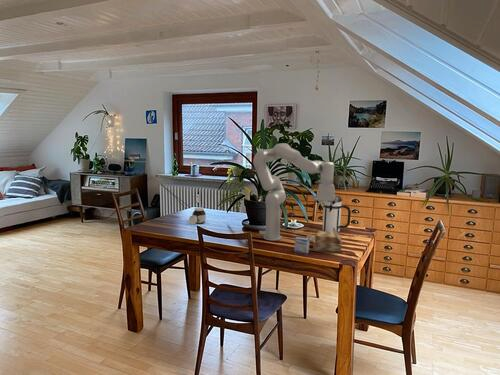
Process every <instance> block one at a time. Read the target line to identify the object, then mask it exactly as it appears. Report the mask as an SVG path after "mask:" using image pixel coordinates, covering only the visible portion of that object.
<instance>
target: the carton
mask: <svg viewBox="0 0 500 375" xmlns="http://www.w3.org/2000/svg"><path fill="white" fill-rule="evenodd" d="M305 238H309V242H310V241H311V242H312V243H313V246H312V251H317V252H319V251H320V252H329V253H339V254H342V244H343V243H341V242H340V241H339V240H338V238H337V237H336V236H335V234H334V233H333V232H324V231H323V230H317V234H316V235H313V234H311V233H308V232H306V237H305Z"/></svg>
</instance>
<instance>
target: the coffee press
mask: <svg viewBox="0 0 500 375" xmlns="http://www.w3.org/2000/svg"><path fill="white" fill-rule="evenodd" d="M335 196H336V197H337V199H338V201H337V202H336V203H335V204H333V205H332V210H331V212H329V210H330V201H321V203H323V213H322V214H323V216H322V231H324V232H333V227H334V228H335V230H336V231H337V232H338V234H339V235H340V230H341V228H342V229H344V228H345V229H347V228H348V227H349V226H350V224H351V208H350V207H349V206H348V205H345V204H344V205H342V203H343V199H342V197H341V196H340V195H338V194H337V195H336V194H335ZM334 201H335V198H334ZM332 202H333V201H332ZM342 208H344V209H346V210H347V222H346V224H344V225H343V224H341V217H342Z"/></svg>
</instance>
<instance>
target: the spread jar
mask: <svg viewBox="0 0 500 375" xmlns="http://www.w3.org/2000/svg"><path fill="white" fill-rule="evenodd" d="M206 216H207V213H206V211H205V208H204V207H201V206H199V207H197V206H196V207H194V211H193V212H192V215H190V216H189V218H188V223H189V225H192V226H193V225H195V224H196V225H203V224H204V223H205V222H206V218H207V217H206Z"/></svg>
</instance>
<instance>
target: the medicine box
mask: <svg viewBox="0 0 500 375" xmlns="http://www.w3.org/2000/svg"><path fill="white" fill-rule="evenodd" d="M293 251H294V253H296V254H297V253H298V254H305V255H308V253H309V251H310V240H309V238H306V237H301V236H296V237H295V238H294V250H293Z"/></svg>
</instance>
